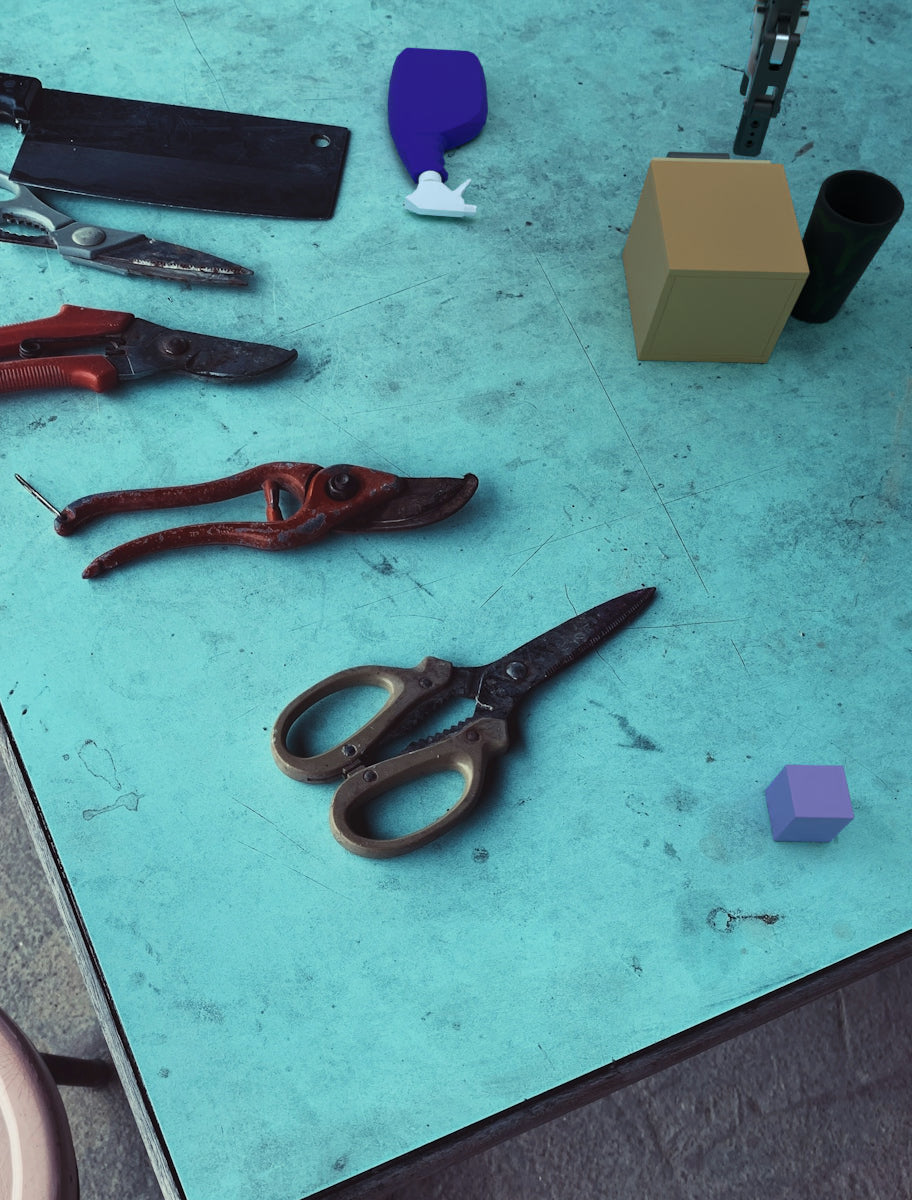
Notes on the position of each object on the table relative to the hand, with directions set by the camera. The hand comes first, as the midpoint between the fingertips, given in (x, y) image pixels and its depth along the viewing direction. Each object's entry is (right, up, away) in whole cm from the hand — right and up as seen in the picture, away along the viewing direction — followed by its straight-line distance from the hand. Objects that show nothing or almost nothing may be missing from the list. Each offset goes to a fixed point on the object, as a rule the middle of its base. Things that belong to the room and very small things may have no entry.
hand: (748, 123), depth 100 cm
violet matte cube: (+2, -58, -5) cm, 58 cm away
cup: (+14, -7, +20) cm, 25 cm away
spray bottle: (-23, +14, +30) cm, 40 cm away
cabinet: (+2, -7, +20) cm, 21 cm away
